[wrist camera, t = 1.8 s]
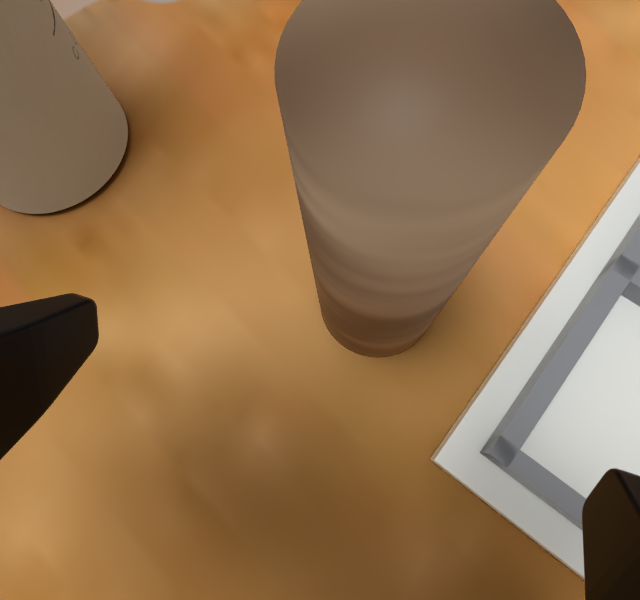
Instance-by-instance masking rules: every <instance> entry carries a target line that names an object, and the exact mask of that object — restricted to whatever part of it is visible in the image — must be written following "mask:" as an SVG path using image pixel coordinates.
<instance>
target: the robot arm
mask: <svg viewBox="0 0 640 600" xmlns="http://www.w3.org/2000/svg"><path fill="white" fill-rule="evenodd" d="M98 338H99V332H98V318H97V306H96V304H95V302H94V301H93V300H92V299H90V298H87V297H84V296H81V295H78V294H74V293H70V294H64V295H59V296H55V297H50V298H45V299H40V300H35V301H30V302H25V303H20V304H15V305H10V306H5V307H0V460H1V459H2V458H3V457H4V455H5V454H6V453H7V452H8V451H9V450H10V449H11V448H12V447H13V446H14V445H15V444H16V443H17V442H18V441H19V440H20V439H21V438H22V437H23V436H24V434H25V433H26V432H27V431H28V430H29V429H30V428H31V427H32V426H33V425H34V424H35V423H36V422H37V421H38V419H39V418H40V417H41V416H42V415H43V414H44V413H45V412H46V410H47V409H48V408H49V407H50V406H51V404H52V403H53V402H54V401H55V399H56V398H57V397H58V395H59V394H60V393H61V392H62V390H63V389H64V388H65V386H66V385H67V384H68V383H69V381H70V380H71V379H72V377H73V376H74V375H75V374H76V372H77V371H78V370H79V368H80V367H81V366H82V365H83V363H84V362H85V361H86V359H87V358H88V357H89V356H90V354H91V353H92V352H93V350H94V349H95V347H96V345H97V342H98ZM582 530H583V554H584V578H585V599H586V600H640V476H639V475H636V474H633V473H630V472H627V471H624V470H621V469H618V468H612V469H609V470H608V471H607V472H606V473H605V474H604V475H603V476H602V478H601V479H600V481H599V482H598V483H597V485H596V486H595V487H594V489H593V490H592V491H591V493H590V494H589V496H588V497H587V498H586V500H585V502H584V505H583V509H582Z"/></svg>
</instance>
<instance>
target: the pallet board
mask: <svg viewBox="0 0 640 600" xmlns="http://www.w3.org/2000/svg"><path fill="white" fill-rule="evenodd" d="M430 460H432V461H433V462H434V463H435V464H437V465H438V466H439V467H440V468H442V469H443V470H444V471H446V472H447V473H448V474H449V475H451V476H452V477H453V478H454V479H456V480H457V481H458V482H460V483H461V484H462V485H463V486H465V487H466V488H467V489H469V490H470V491H471V492H472V493H474V494H475V495H476V496H477V497H479V498H480V499H481V500H483V501H484V502H485V503H486V504H488V505H489V506H490V507H492V508H493V509H494V510H495V511H497V512H498V513H499V514H500V515H502V516H503V517H504V518H506V519H507V520H508V521H509V522H511V523H512V524H513V525H515V526H516V527H517V528H518V529H520V530H521V531H522V532H523V533H525V534H526V535H527V536H529V537H530V538H531V539H532V540H534V541H535V542H536V543H538V544H539V545H540V546H541V547H543V548H544V549H545V550H546V551H548V552H549V553H550V554H552V555H553V556H554V557H555V558H557V559H558V560H559V561H561V562H562V563H563V564H564V565H566V566H567V567H568V568H569V569H571V570H572V571H573V572H575V573H576V574H577V575H578V576H580V577H581V578H582V579H584V580H585V578H584V554H583V530H582V509H583V505H584V502H585V500H586V498H587V497H588V496H589V494H590V493H591V491H592V490H593V489H594V487H595V486H596V485H597V483H598V482H599V481H600V479H601V478H602V476H603V475H604V474H605V473H606V472H607V471H608V470H609V469H612V468H618V469H621V470H624V471H627V472H630V473H633V474H636V475H639V476H640V157H639V158H638V159H637V161H636V162H635V164H634V165H633V167H632V168H631V170H630V171H629V172H628V174H627V175H626V177H625V178H624V180H623V181H622V183H621V184H620V185H619V187H618V188H617V190H616V191H615V193H614V194H613V196H612V197H611V198H610V200H609V201H608V203H607V204H606V206H605V207H604V208H603V210H602V211H601V213H600V214H599V216H598V217H597V219H596V220H595V221H594V223H593V224H592V226H591V227H590V229H589V230H588V232H587V233H586V234H585V236H584V237H583V239H582V240H581V242H580V243H579V245H578V246H577V247H576V249H575V250H574V252H573V253H572V255H571V256H570V258H569V259H568V260H567V262H566V263H565V265H564V266H563V268H562V269H561V271H560V272H559V273H558V275H557V276H556V278H555V279H554V281H553V282H552V283H551V285H550V286H549V288H548V289H547V291H546V292H545V294H544V295H543V296H542V298H541V299H540V301H539V302H538V304H537V305H536V307H535V308H534V309H533V311H532V312H531V314H530V315H529V317H528V318H527V320H526V321H525V322H524V324H523V325H522V327H521V328H520V330H519V331H518V333H517V334H516V335H515V337H514V338H513V340H512V341H511V343H510V344H509V345H508V347H507V348H506V350H505V351H504V353H503V354H502V356H501V357H500V358H499V360H498V361H497V363H496V364H495V366H494V367H493V369H492V370H491V371H490V373H489V374H488V376H487V377H486V379H485V380H484V382H483V383H482V384H481V386H480V387H479V389H478V390H477V392H476V393H475V395H474V396H473V397H472V399H471V400H470V402H469V403H468V405H467V406H466V408H465V409H464V410H463V412H462V413H461V415H460V416H459V418H458V419H457V420H456V422H455V423H454V425H453V426H452V428H451V429H450V431H449V432H448V433H447V435H446V436H445V438H444V439H443V441H442V442H441V444H440V445H439V446H438V448H437V449H436V451H435V452H434V454H433V455H432V457H431V458H430Z"/></svg>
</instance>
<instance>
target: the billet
mask: <svg viewBox="0 0 640 600" xmlns="http://www.w3.org/2000/svg"><path fill="white" fill-rule="evenodd" d="M585 83H586V68H585V58H584V54H583V50H582V46H581V42H580V39H579V37H578V35H577V33H576V30H575V28H574V26H573V24H572V22H571V21H570V19H569V18H568V16H567V14H566V13H565V11H564V10H563V9H562V7H561V6H560V5H559V4H558V3H557V1H556V0H303V1H302V2H301V3H300V4H299V5H298V6H297V8H296V9H295V11H294V12H293V14H292V15H291V17H290V19H289V20H288V22H287V24H286V26H285V28H284V31H283V33H282V35H281V38H280V41H279V45H278V48H277V52H276V60H275V86H276V91H277V96H278V101H279V106H280V111H281V116H282V121H283V126H284V131H285V136H286V141H287V146H288V150H289V155H290V160H291V165H292V170H293V175H294V180H295V185H296V190H297V195H298V199H299V204H300V209H301V214H302V219H303V224H304V229H305V234H306V239H307V244H308V249H309V253H310V258H311V263H312V268H313V273H314V278H315V283H316V288H317V293H318V298H319V302H320V307H321V312H322V317H323V320H324V322H325V324H326V327H327V329H328V330H329V332H330V333H331V335H332V336H333V337H334V338H335V339H336V340H337V341H338V342H339V343H340V344H341V345H343V346H344V347H346V348H347V349H349V350H351V351H353V352H355V353H358V354H361V355H364V356H369V357H386V356H391V355H395V354H398V353H401V352H403V351H405V350H407V349H408V348H410V347H411V346H413V345H414V344H415V343H416V342H417V341H418V340H419V339H420V338H421V337H422V336H423V334H424V333H425V331H426V330H427V329H428V327H429V326H430V325H431V323H432V322H433V320H434V319H435V318H436V316H437V315H438V314H439V312H440V311H441V309H442V308H443V307H444V305H445V304H446V302H447V301H448V300H449V298H450V297H451V296H452V294H453V293H454V291H455V290H456V289H457V287H458V286H459V285H460V283H461V282H462V280H463V279H464V278H465V276H466V275H467V274H468V272H469V271H470V269H471V268H472V267H473V265H474V264H475V262H476V261H477V260H478V258H479V257H480V256H481V254H482V253H483V251H484V250H485V249H486V247H487V246H488V245H489V243H490V242H491V240H492V239H493V238H494V236H495V235H496V233H497V232H498V231H499V229H500V228H501V227H502V225H503V224H504V222H505V221H506V220H507V218H508V217H509V216H510V214H511V213H512V211H513V210H514V209H515V207H516V206H517V205H518V203H519V202H520V200H521V199H522V198H523V196H524V195H525V193H526V192H527V191H528V189H529V188H530V187H531V185H532V184H533V182H534V181H535V180H536V178H537V177H538V176H539V174H540V173H541V171H542V170H543V169H544V167H545V166H546V164H547V163H548V162H549V160H550V159H551V158H552V156H553V155H554V153H555V152H556V151H557V149H558V148H559V147H560V145H561V144H562V142H563V141H564V140H565V138H566V136H567V135H568V133H569V132H570V130H571V128H572V127H573V125H574V123H575V121H576V118H577V116H578V114H579V111H580V109H581V105H582V101H583V97H584V93H585Z"/></svg>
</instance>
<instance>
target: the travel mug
mask: <svg viewBox="0 0 640 600" xmlns="http://www.w3.org/2000/svg"><path fill="white" fill-rule="evenodd" d="M127 139H128V125H127V120H126V116H125V113H124V111H123V109H122V107H121V105H120V103H119V102H118V100H117V99H116V97H115V96H114V94H113V93H112V91H111V90H110V89H109V87H108V86H107V84H106V83H105V81H104V80H103V78H102V77H101V75H100V74H99V72H98V71H97V69H96V68H95V66H94V65H93V63H92V62H91V60H90V59H89V58H88V56H87V55H86V53H85V52H84V50H83V49H82V47H81V46H80V44H79V43H78V41H77V40H76V38H75V37H74V35H73V34H72V32H71V31H70V29H69V28H68V27H67V25H66V24H65V22H64V21H63V19H62V18H61V16H60V15H59V14H58V12H57V10H56V9H55V7H54V6H53V4H52V3H51V1H50V0H0V205H1V206H3V207H5V208H7V209H10V210H13V211H16V212H21V213H28V214H43V213H51V212H56V211H60V210H63V209H66V208H69V207H71V206H74V205H76V204H78V203H80V202H82V201H83V200H85V199H87V198H88V197H90V196H91V195H93V194H94V193H95V192H96V191H98V190H99V189H100V188H101V187H102V186H103V185H104V184H105V183H106V182H107V181H108V180H109V179H110V178H111V176H112V175H113V174H114V172H115V171H116V169H117V167H118V166H119V164H120V162H121V160H122V158H123V155H124V153H125V149H126V145H127Z"/></svg>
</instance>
